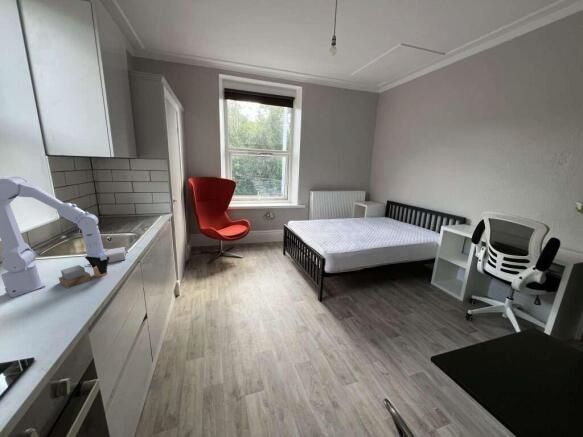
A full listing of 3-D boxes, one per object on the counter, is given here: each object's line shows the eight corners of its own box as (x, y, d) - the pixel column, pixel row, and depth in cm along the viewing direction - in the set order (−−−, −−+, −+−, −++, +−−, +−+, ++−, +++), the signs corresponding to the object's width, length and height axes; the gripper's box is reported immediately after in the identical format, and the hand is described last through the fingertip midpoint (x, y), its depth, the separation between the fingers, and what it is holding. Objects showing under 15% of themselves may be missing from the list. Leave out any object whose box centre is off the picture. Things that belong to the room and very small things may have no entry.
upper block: (67, 280, 97) (65, 273, 97) (62, 276, 100) (60, 270, 100) (86, 274, 102) (84, 268, 101) (80, 271, 105) (78, 264, 105)
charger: (90, 261, 122) (126, 254, 130) (87, 268, 114) (125, 260, 122) (88, 252, 121) (124, 246, 128) (85, 258, 113) (123, 251, 121)
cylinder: (97, 278, 104) (95, 269, 103) (93, 275, 106) (91, 267, 105) (109, 274, 108) (107, 265, 107) (104, 271, 110) (102, 263, 109)
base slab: (67, 289, 97) (65, 282, 96) (60, 283, 101) (58, 277, 100) (91, 280, 103) (89, 274, 103) (83, 275, 107) (82, 269, 107)
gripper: (112, 242, 103) (118, 271, 106) (97, 237, 110) (103, 264, 114) (92, 248, 97) (99, 278, 100) (77, 241, 104) (85, 270, 108)
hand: (100, 271), depth 107 cm, fingers open, 6 cm apart
